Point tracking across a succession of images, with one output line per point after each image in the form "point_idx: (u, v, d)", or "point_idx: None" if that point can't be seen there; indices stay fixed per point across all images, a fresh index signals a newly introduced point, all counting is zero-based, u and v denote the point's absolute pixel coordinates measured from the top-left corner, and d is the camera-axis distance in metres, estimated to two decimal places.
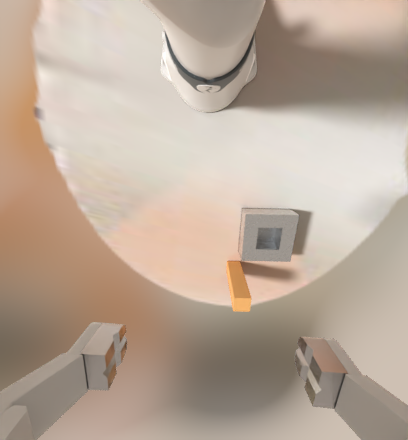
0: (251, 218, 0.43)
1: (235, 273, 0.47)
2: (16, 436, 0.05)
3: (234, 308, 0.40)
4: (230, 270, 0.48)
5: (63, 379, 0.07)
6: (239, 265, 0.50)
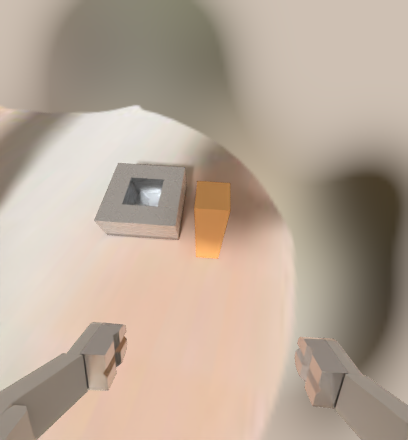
0: (104, 213, 0.28)
1: None
2: (16, 436, 0.05)
3: (222, 208, 0.18)
4: (196, 244, 0.27)
5: (63, 379, 0.07)
6: None
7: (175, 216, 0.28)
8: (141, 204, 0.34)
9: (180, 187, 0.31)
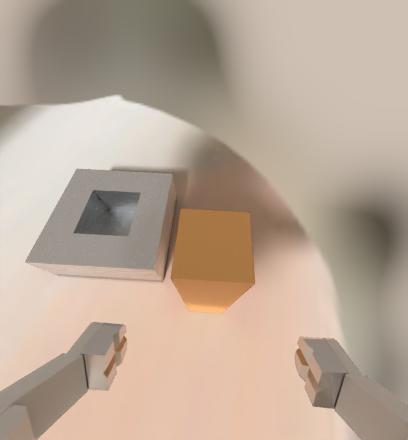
0: (43, 248, 0.18)
1: None
2: (16, 436, 0.05)
3: (236, 276, 0.08)
4: None
5: (63, 379, 0.07)
6: None
7: (155, 252, 0.18)
8: (111, 227, 0.24)
9: (164, 204, 0.21)
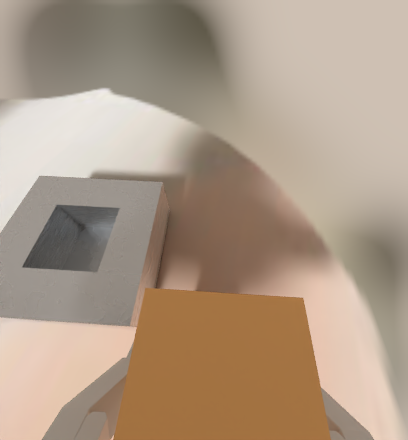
0: None
1: None
2: None
3: None
4: None
5: None
6: None
7: (133, 297, 0.13)
8: (84, 251, 0.19)
9: (150, 224, 0.16)
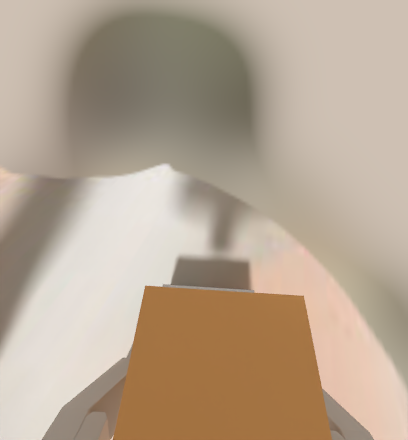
0: None
1: None
2: None
3: None
4: None
5: None
6: None
7: None
8: None
9: None
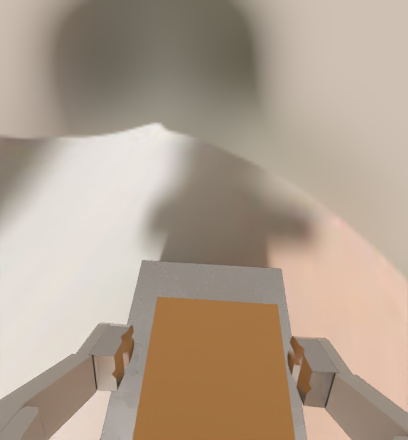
0: (118, 438, 0.11)
1: None
2: (29, 437, 0.05)
3: None
4: None
5: (73, 380, 0.07)
6: None
7: None
8: None
9: (288, 332, 0.14)
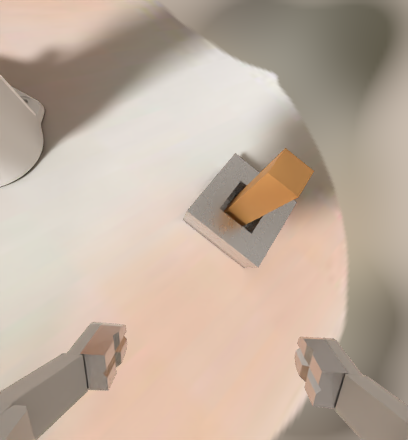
0: (199, 208, 0.25)
1: (239, 195, 0.25)
2: (16, 436, 0.05)
3: (293, 189, 0.17)
4: (231, 204, 0.26)
5: (63, 379, 0.07)
6: None
7: (263, 256, 0.25)
8: None
9: (282, 224, 0.27)
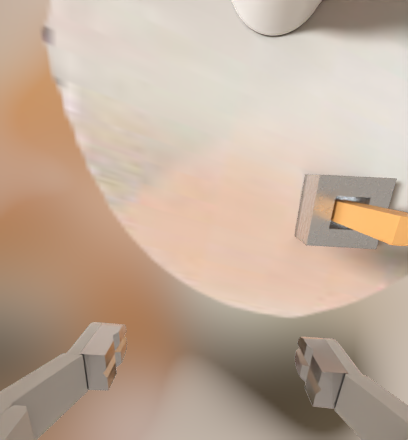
0: (327, 181, 0.30)
1: (357, 204, 0.29)
2: (16, 436, 0.05)
3: (395, 239, 0.22)
4: (344, 202, 0.31)
5: (63, 379, 0.07)
6: (351, 201, 0.33)
7: (316, 244, 0.33)
8: None
9: (349, 246, 0.33)
